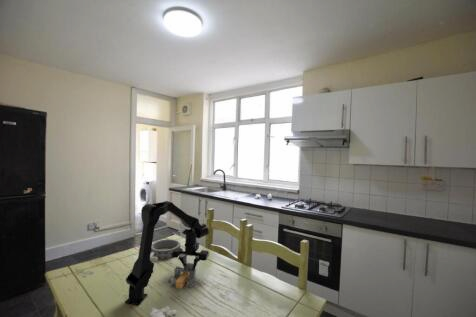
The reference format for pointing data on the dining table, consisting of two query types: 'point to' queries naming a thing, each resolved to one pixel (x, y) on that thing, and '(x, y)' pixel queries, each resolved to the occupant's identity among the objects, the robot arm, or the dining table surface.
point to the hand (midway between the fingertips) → (189, 269)
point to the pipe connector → (153, 257)
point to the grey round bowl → (164, 243)
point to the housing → (179, 270)
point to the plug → (184, 276)
